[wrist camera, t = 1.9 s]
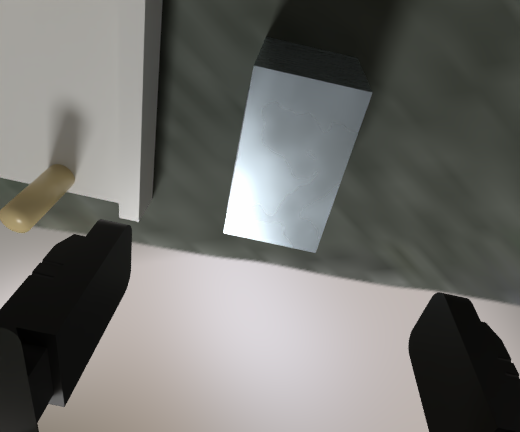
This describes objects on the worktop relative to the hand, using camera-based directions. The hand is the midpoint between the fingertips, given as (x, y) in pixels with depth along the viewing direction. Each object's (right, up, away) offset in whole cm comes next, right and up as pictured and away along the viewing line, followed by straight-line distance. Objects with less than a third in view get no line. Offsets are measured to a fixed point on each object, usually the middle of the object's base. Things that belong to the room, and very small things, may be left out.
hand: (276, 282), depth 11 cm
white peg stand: (-10, +9, +8) cm, 15 cm away
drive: (+1, +6, +9) cm, 11 cm away
